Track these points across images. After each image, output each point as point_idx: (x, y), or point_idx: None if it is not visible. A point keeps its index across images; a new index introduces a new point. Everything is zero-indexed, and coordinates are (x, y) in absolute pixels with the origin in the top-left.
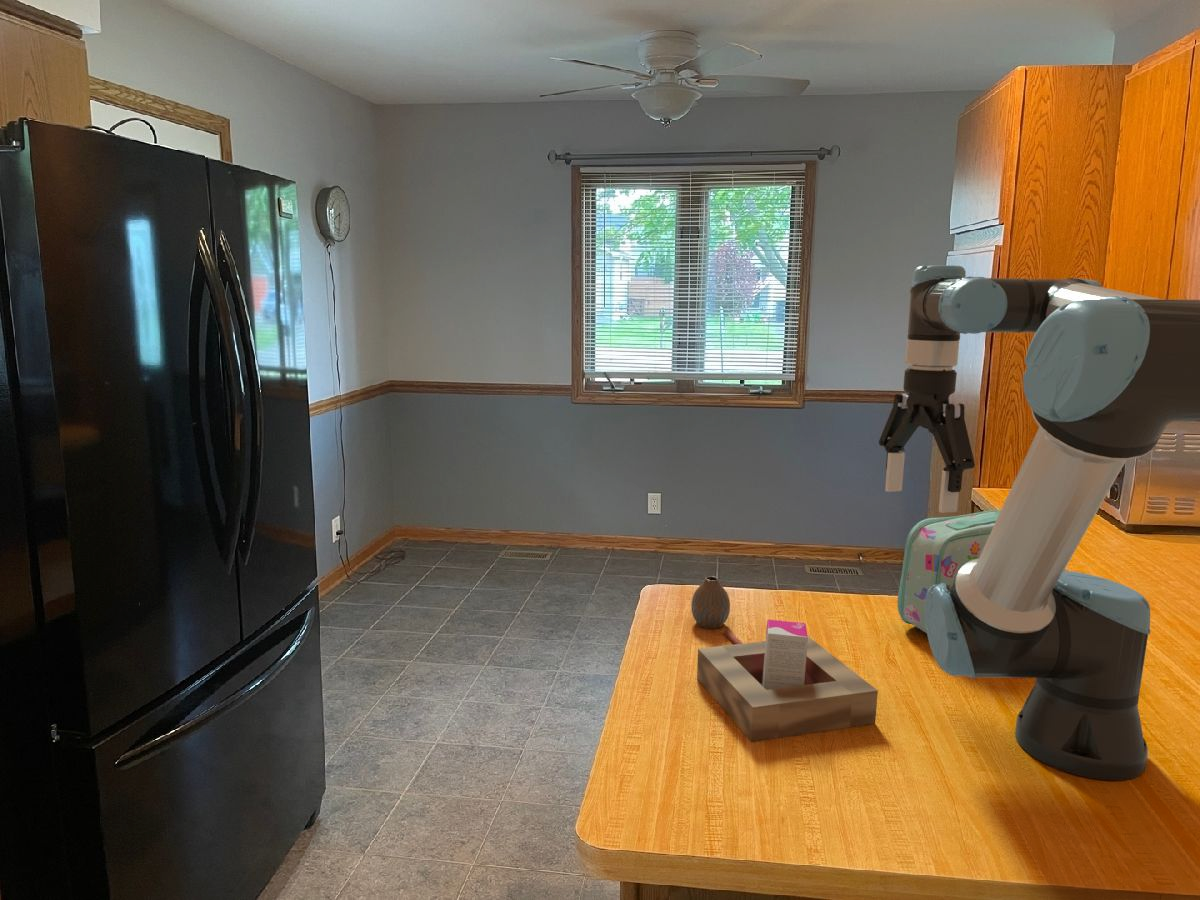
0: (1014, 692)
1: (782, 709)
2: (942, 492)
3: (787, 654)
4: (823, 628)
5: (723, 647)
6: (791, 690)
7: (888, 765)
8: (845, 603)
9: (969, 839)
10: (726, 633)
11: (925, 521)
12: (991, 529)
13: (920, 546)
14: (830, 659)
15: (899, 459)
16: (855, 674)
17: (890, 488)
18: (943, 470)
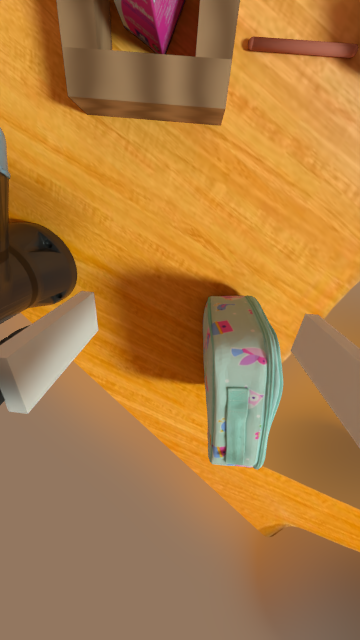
0: (118, 290)
1: None
2: (55, 313)
3: None
4: (287, 218)
5: None
6: None
7: (13, 64)
8: (322, 286)
9: None
10: (346, 43)
11: (275, 377)
12: (214, 421)
13: (246, 335)
14: (154, 90)
15: (354, 410)
16: (109, 96)
17: (307, 325)
18: (1, 356)
